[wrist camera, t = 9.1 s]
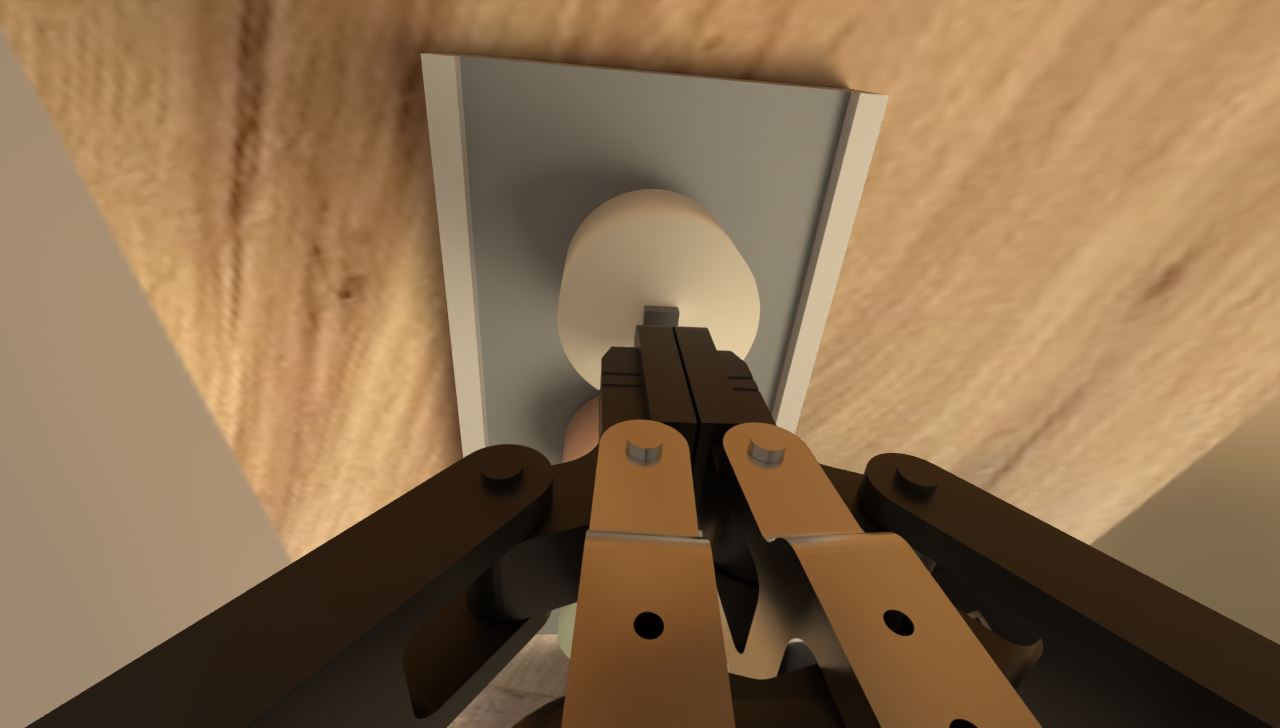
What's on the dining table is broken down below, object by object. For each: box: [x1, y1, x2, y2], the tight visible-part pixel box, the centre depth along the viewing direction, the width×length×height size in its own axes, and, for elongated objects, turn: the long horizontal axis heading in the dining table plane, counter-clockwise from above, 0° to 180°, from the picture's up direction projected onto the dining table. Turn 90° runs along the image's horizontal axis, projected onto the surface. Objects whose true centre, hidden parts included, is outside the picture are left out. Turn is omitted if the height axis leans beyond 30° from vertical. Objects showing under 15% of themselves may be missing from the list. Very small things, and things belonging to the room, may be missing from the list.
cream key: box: [557, 189, 760, 390], centre depth 14 cm, size 5×5×3 cm
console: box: [421, 52, 889, 634], centre depth 21 cm, size 24×12×3 cm, turn 175°
